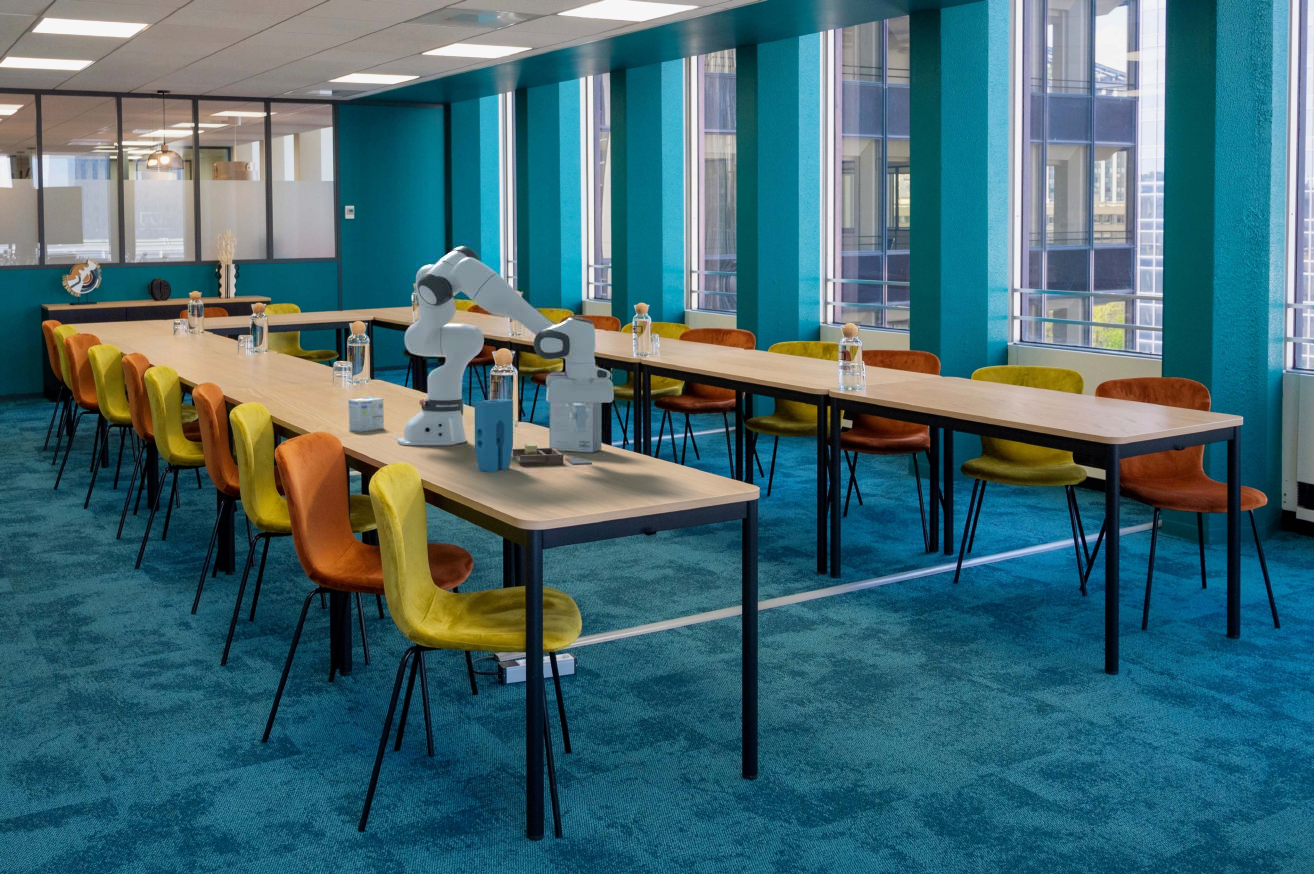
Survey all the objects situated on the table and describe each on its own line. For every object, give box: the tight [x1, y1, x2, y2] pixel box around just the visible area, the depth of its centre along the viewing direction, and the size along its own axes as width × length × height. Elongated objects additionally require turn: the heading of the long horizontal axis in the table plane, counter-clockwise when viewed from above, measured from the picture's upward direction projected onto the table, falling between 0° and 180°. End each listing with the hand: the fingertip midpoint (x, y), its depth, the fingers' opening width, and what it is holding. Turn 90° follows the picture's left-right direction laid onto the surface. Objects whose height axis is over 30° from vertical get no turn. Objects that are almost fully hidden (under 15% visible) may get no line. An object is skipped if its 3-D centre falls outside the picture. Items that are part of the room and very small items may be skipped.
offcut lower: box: [525, 450, 537, 455], centre depth 381 cm, size 3×4×2 cm
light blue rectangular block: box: [570, 403, 586, 428], centre depth 378 cm, size 3×9×6 cm, turn 17°
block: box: [474, 398, 514, 473], centre depth 364 cm, size 12×5×20 cm, turn 144°
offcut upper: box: [524, 443, 538, 452], centre depth 380 cm, size 3×4×2 cm
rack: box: [511, 447, 565, 467], centre depth 379 cm, size 13×13×3 cm
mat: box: [564, 456, 593, 466], centre depth 380 cm, size 6×10×1 cm, turn 17°
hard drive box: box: [548, 402, 603, 454], centre depth 400 cm, size 16×8×20 cm, turn 71°
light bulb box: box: [348, 396, 385, 433], centre depth 437 cm, size 11×7×11 cm, turn 144°
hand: (579, 417), depth 375 cm, fingers closed on light blue rectangular block, 3 cm apart
